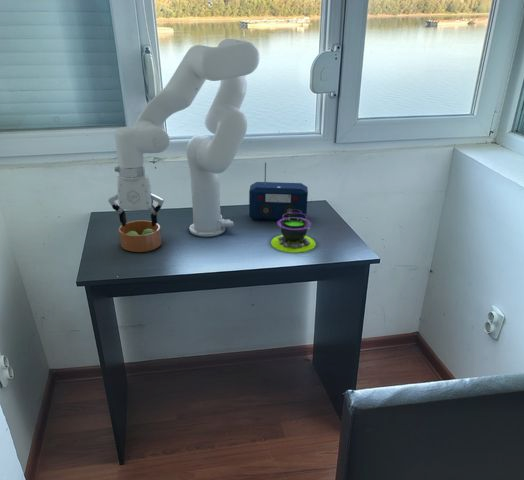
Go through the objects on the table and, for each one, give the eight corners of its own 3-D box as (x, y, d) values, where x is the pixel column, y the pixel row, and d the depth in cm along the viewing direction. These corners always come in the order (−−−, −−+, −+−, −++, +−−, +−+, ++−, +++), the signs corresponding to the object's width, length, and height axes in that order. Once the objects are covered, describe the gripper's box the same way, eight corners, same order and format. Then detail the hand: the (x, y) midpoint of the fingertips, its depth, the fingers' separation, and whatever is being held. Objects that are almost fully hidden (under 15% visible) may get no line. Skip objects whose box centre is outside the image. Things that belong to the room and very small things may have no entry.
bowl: (164, 237, 177) (163, 220, 174) (157, 253, 166) (156, 236, 163) (126, 236, 177) (123, 219, 174) (116, 253, 166) (114, 235, 163)
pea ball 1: (123, 228, 168) (121, 242, 170) (132, 234, 165) (129, 247, 167) (135, 228, 171) (133, 241, 173) (143, 234, 169) (141, 247, 171)
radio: (249, 221, 191) (249, 166, 179) (250, 213, 198) (250, 159, 186) (305, 223, 190) (309, 167, 178) (305, 214, 197) (309, 160, 186)
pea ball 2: (146, 245, 174) (158, 238, 174) (145, 245, 169) (158, 239, 169) (139, 232, 173) (152, 226, 173) (138, 232, 168) (151, 226, 168)
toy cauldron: (324, 243, 175) (327, 211, 169) (296, 256, 166) (297, 224, 160) (290, 231, 184) (292, 200, 177) (261, 243, 175) (262, 211, 168)
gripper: (100, 174, 155) (109, 228, 165) (158, 175, 155) (164, 229, 165) (107, 167, 161) (115, 220, 171) (162, 168, 161) (167, 221, 171)
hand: (139, 224), depth 168 cm, fingers open, 9 cm apart
